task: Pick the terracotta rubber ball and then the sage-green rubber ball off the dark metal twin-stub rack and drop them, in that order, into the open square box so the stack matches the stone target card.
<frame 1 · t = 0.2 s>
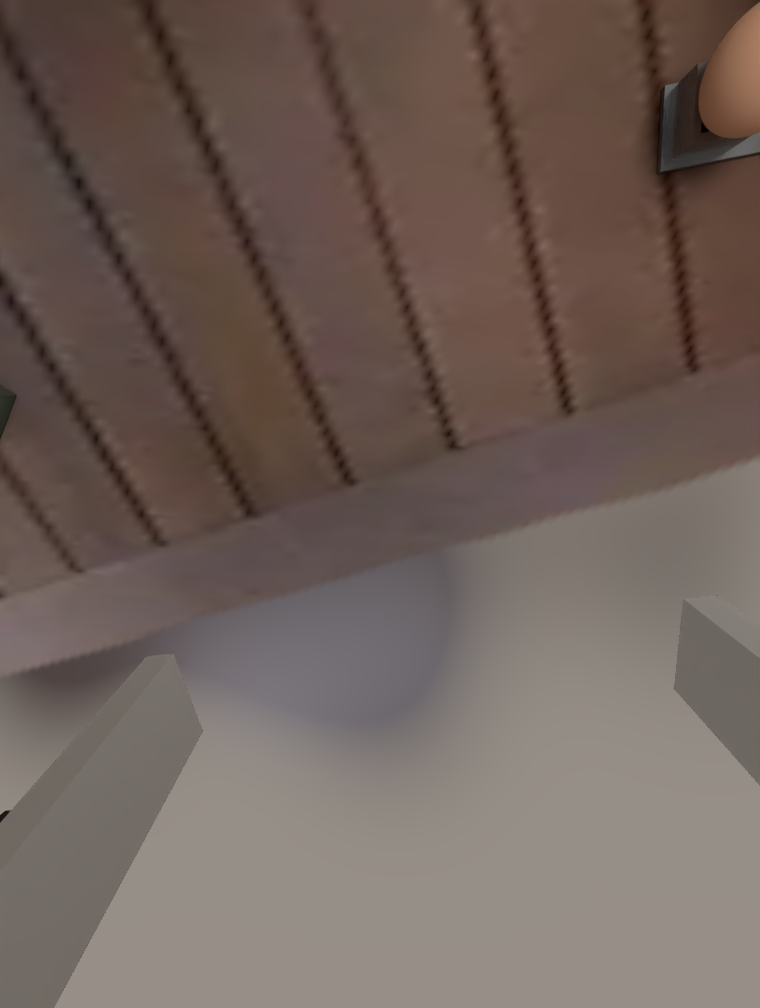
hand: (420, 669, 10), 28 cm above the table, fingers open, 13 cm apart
ball terracotta: (723, 102, 26), point 3 cm above the table, touching stub rack
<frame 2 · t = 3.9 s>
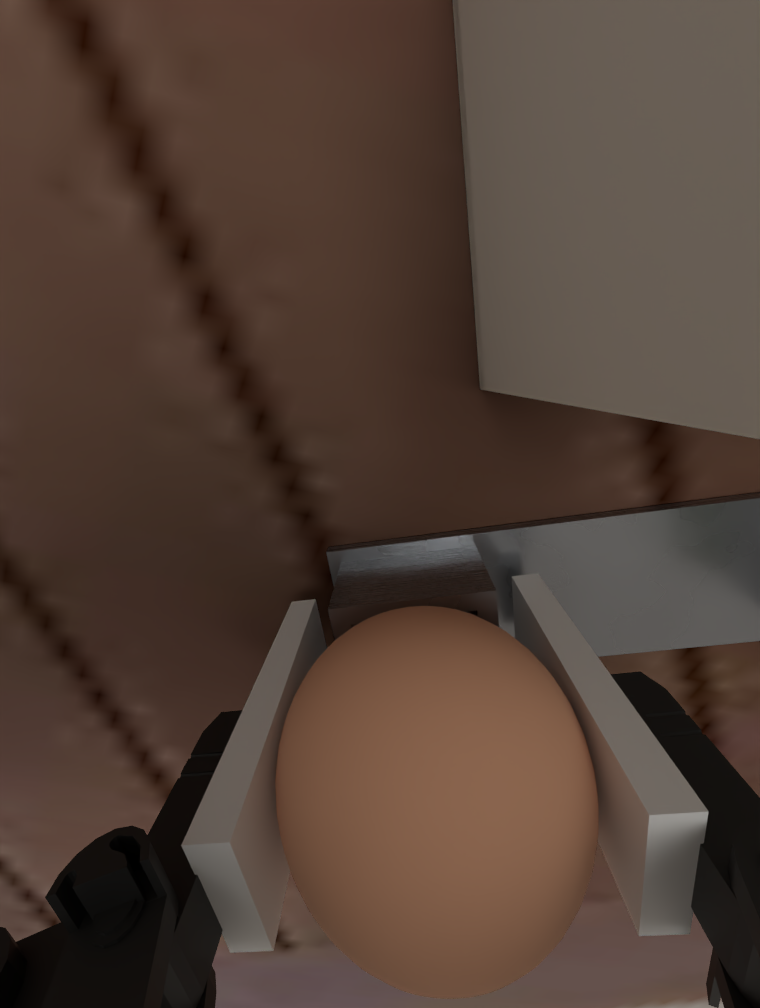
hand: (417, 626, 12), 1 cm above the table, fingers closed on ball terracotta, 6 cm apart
open square box: (652, 170, 9), on the table
stub rack: (631, 580, 13), on the table
ball terracotta: (419, 656, 11), point 3 cm above the table, touching gripper, stub rack
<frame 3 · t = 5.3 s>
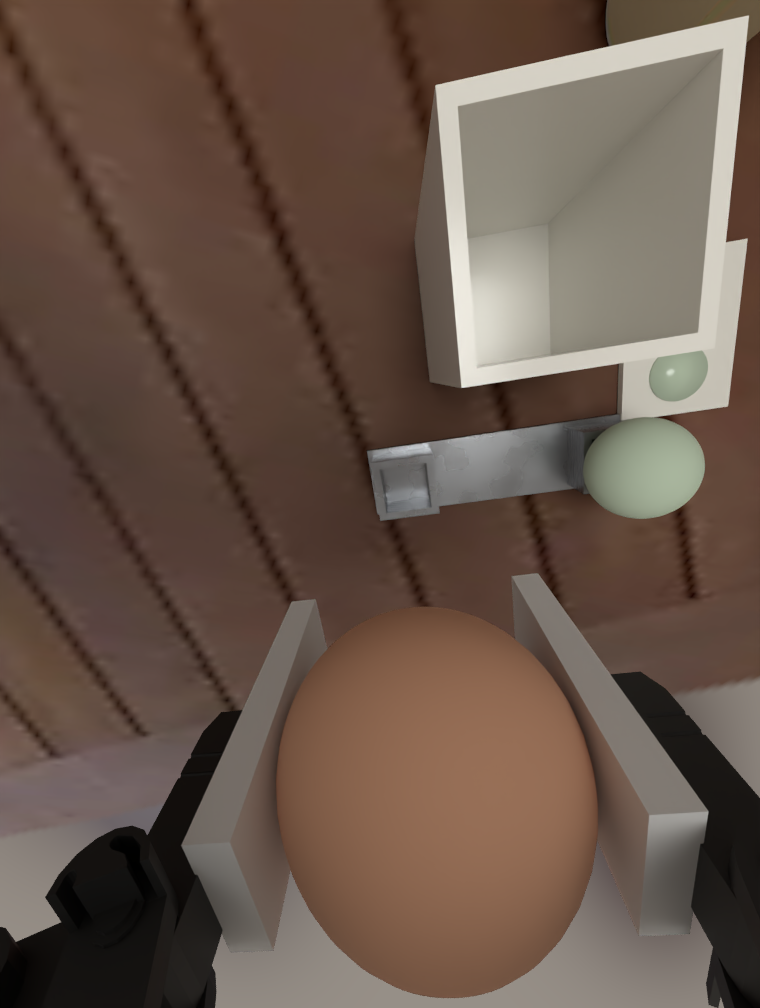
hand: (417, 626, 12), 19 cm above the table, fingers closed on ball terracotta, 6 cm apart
open square box: (487, 303, 26), on the table
coffee cup: (675, 5, 21), on the table
stub rack: (497, 464, 29), on the table
ball terracotta: (419, 657, 11), point 20 cm above the table, touching gripper
target card: (673, 337, 26), on the table
ball sage: (613, 458, 26), point 3 cm above the table, touching stub rack
when the fingers open (16 cm above the table, at t = 6.7 s): ball terracotta drops 17 cm, resting on open square box.
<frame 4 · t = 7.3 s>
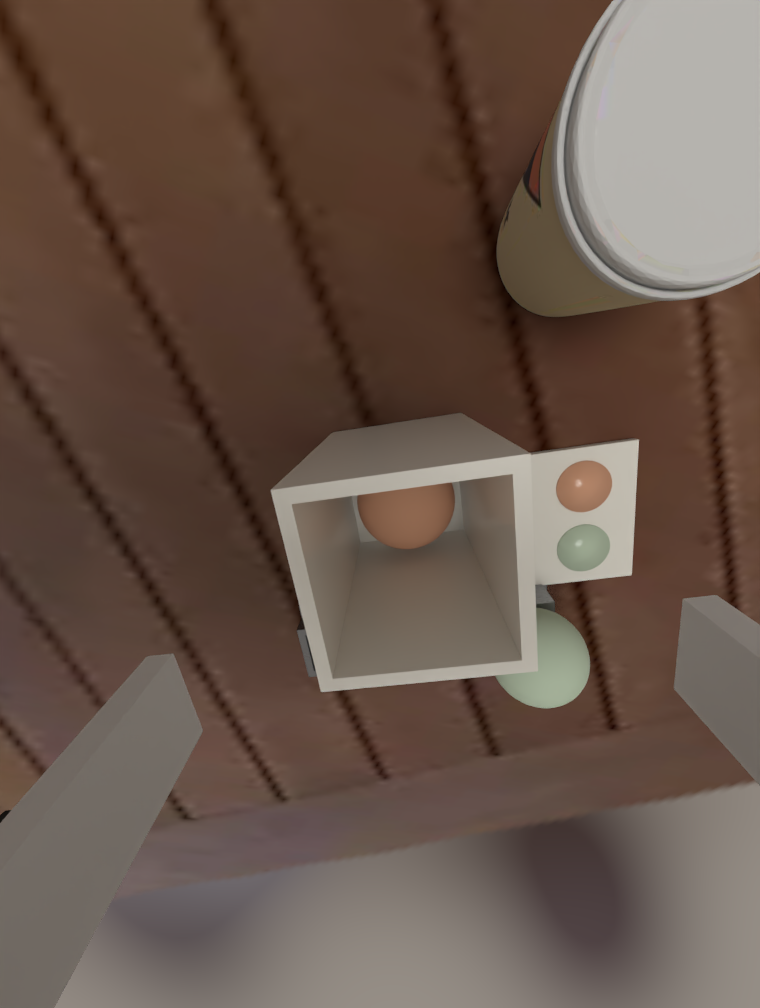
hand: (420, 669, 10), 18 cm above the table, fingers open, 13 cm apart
open square box: (404, 484, 28), on the table
coffee cup: (561, 246, 23), on the table
stub rack: (422, 616, 31), on the table
ball terracotta: (404, 487, 27), point 1 cm above the table, touching open square box
target card: (579, 514, 28), on the table
ball sage: (522, 627, 28), point 3 cm above the table, touching stub rack
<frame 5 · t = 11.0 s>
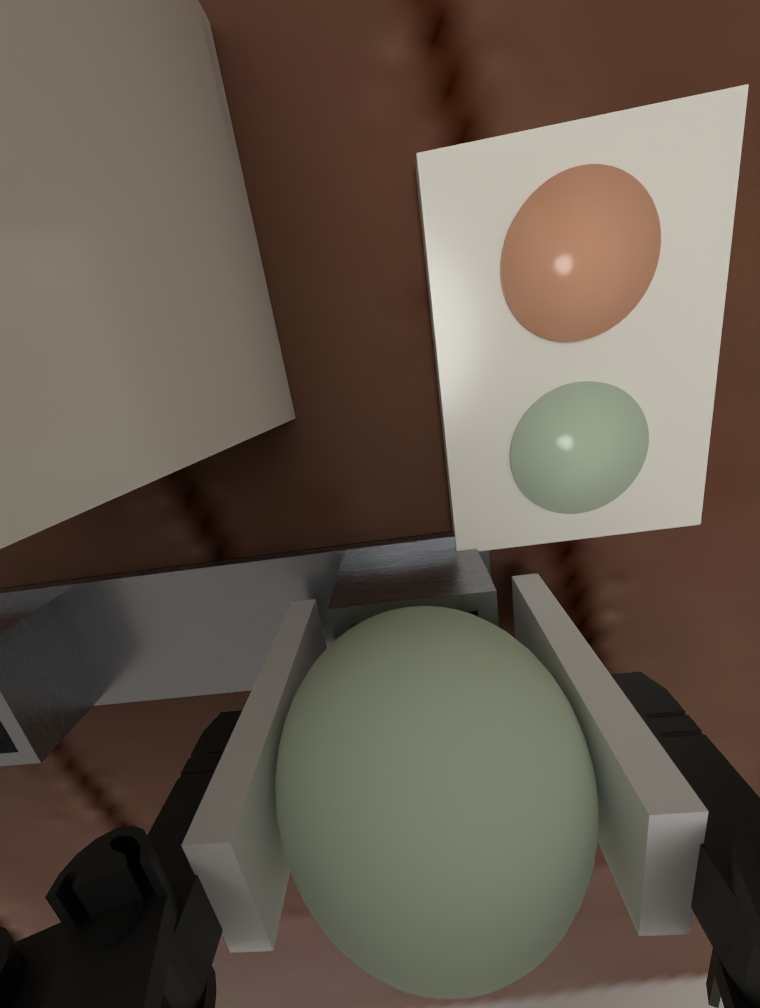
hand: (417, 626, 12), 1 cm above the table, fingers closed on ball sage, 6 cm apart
open square box: (100, 277, 10), on the table
stub rack: (217, 627, 14), on the table
target card: (566, 362, 11), on the table
ball sage: (419, 656, 11), point 3 cm above the table, touching gripper, stub rack
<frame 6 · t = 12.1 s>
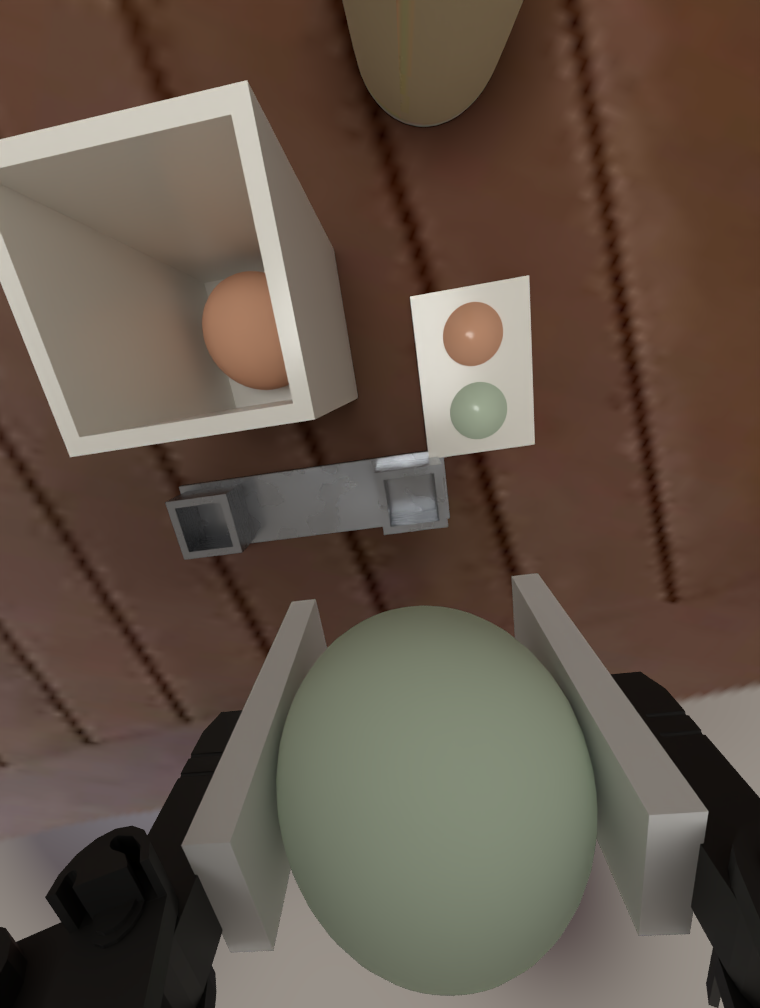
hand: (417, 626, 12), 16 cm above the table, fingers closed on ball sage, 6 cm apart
open square box: (280, 339, 25), on the table
coffee cup: (427, 39, 20), on the table
stub rack: (314, 500, 28), on the table
ball terracotta: (277, 339, 24), point 1 cm above the table, touching open square box
target card: (473, 374, 25), on the table
ball sage: (419, 656, 11), point 18 cm above the table, touching gripper
when the fingers open (16 cm above the table, at t = 13.7 s): ball sage drops 11 cm, resting on ball terracotta.
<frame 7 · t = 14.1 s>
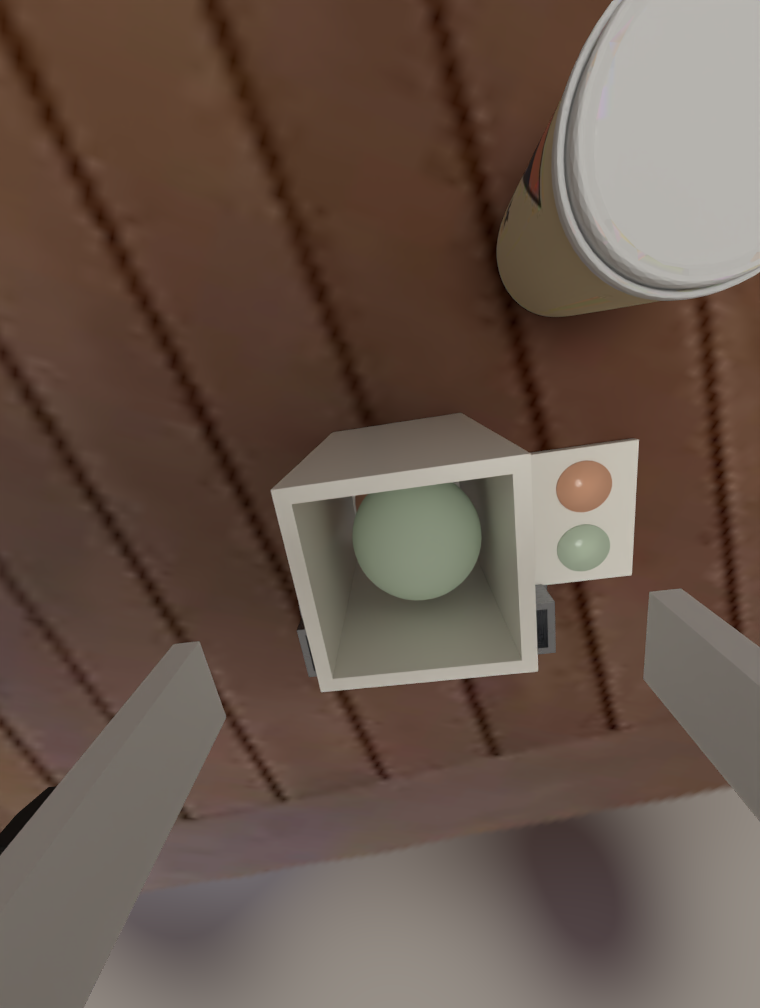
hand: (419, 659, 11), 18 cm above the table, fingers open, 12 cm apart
open square box: (404, 484, 28), on the table
coffee cup: (561, 246, 23), on the table
stub rack: (422, 616, 31), on the table
target card: (579, 514, 28), on the table
ball sage: (403, 518, 21), point 7 cm above the table, tilted 11°, touching ball terracotta
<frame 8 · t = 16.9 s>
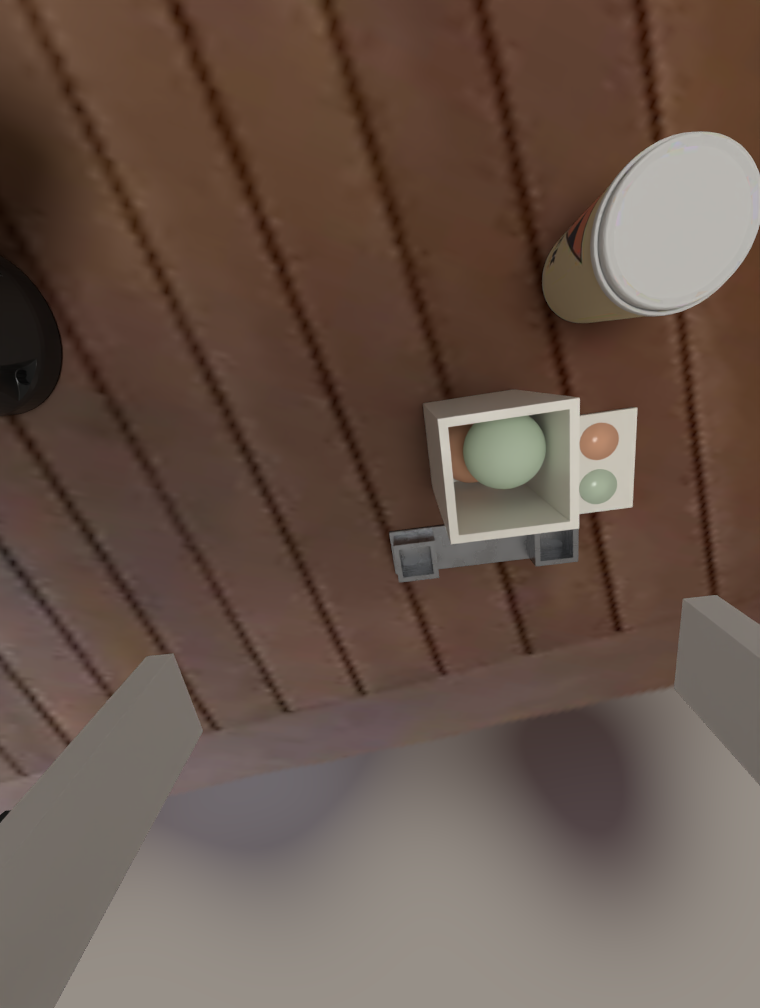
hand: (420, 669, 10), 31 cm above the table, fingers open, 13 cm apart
open square box: (471, 441, 39), on the table
coffee cup: (585, 275, 34), on the table
stub rack: (479, 541, 42), on the table
ball terracotta: (472, 442, 38), point 1 cm above the table, tilted 14°, touching ball sage, open square box
target card: (594, 463, 39), on the table
ball sage: (472, 458, 32), point 7 cm above the table, tilted 45°, touching ball terracotta, open square box
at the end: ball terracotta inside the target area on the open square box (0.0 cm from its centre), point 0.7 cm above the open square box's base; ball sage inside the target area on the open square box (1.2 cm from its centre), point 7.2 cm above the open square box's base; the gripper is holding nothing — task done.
